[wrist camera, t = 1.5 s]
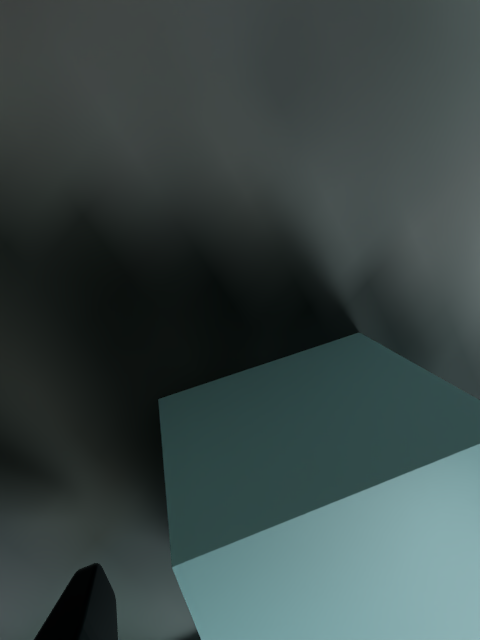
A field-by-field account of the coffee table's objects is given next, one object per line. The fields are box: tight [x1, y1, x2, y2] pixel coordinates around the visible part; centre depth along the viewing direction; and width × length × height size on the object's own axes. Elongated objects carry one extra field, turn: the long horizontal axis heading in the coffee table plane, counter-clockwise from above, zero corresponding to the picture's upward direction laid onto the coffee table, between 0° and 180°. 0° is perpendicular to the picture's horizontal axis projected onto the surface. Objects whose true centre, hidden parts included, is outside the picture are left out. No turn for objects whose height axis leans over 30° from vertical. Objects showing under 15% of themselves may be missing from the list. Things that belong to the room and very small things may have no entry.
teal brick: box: [158, 333, 480, 640], centre depth 8 cm, size 5×5×4 cm
